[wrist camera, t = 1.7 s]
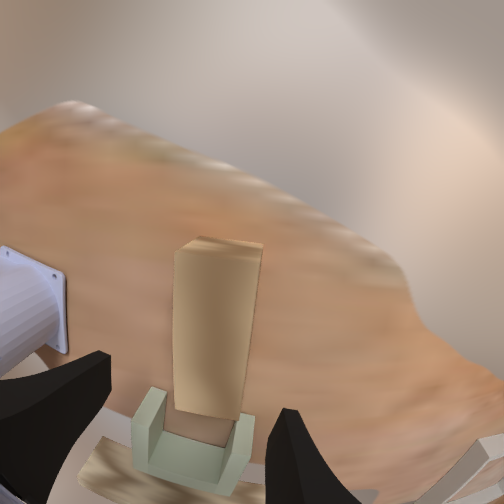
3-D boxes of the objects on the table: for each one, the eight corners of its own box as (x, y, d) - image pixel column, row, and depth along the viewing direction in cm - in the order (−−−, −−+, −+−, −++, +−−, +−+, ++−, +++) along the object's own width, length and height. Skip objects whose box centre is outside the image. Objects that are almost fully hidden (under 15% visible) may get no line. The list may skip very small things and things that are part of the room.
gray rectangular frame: (395, 517, 25) (400, 533, 21) (477, 438, 21) (489, 457, 17) (496, 485, 25) (501, 495, 21) (554, 415, 20) (563, 425, 16)
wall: (108, 464, 25) (87, 500, 18) (102, 435, 23) (76, 477, 16) (260, 508, 24) (256, 550, 18) (277, 486, 23) (276, 536, 16)
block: (148, 436, 22) (133, 468, 18) (151, 386, 20) (130, 420, 16) (235, 461, 22) (229, 496, 18) (255, 416, 20) (251, 456, 16)
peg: (193, 366, 20) (175, 409, 15) (200, 235, 18) (174, 251, 13) (246, 375, 20) (238, 421, 15) (263, 243, 18) (260, 262, 13)
